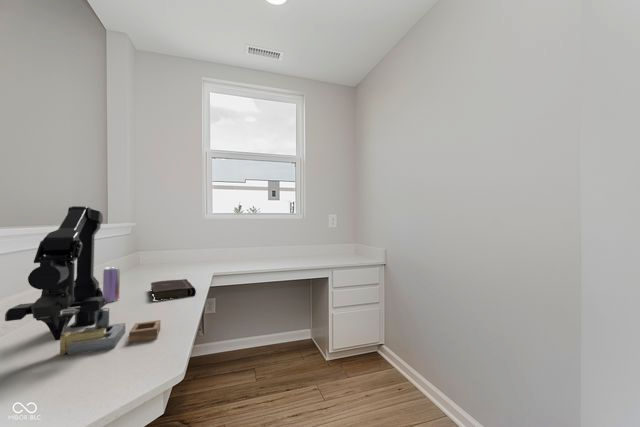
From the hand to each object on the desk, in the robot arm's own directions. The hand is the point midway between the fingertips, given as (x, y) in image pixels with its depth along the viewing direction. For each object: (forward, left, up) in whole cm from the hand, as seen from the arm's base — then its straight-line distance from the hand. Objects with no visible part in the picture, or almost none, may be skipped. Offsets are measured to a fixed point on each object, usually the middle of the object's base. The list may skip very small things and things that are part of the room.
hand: (58, 339), depth 72 cm
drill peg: (-5, +8, -4) cm, 10 cm away
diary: (-59, +22, -4) cm, 64 cm away
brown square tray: (-3, +20, -4) cm, 20 cm away
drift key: (0, +6, -4) cm, 7 cm away
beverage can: (-55, -2, -4) cm, 56 cm away
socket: (-3, +8, -4) cm, 10 cm away
